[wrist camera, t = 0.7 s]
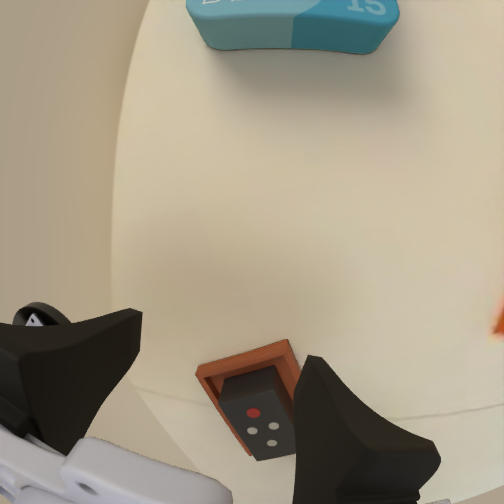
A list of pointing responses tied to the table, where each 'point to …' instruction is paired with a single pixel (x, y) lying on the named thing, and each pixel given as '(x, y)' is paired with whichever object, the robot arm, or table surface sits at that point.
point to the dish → (247, 362)
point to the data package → (294, 23)
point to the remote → (260, 412)
